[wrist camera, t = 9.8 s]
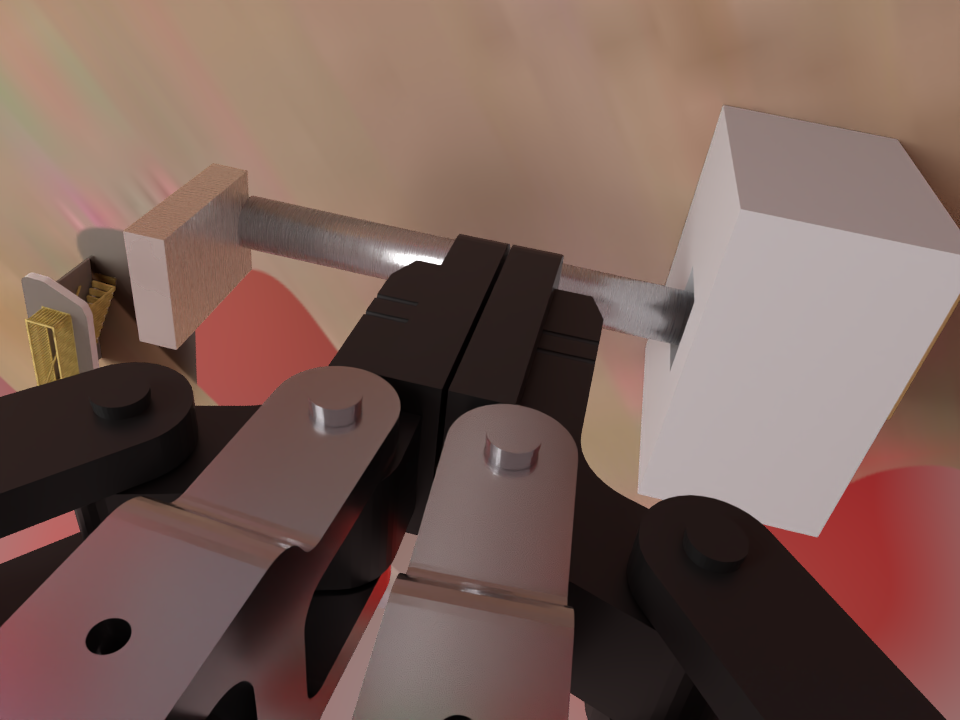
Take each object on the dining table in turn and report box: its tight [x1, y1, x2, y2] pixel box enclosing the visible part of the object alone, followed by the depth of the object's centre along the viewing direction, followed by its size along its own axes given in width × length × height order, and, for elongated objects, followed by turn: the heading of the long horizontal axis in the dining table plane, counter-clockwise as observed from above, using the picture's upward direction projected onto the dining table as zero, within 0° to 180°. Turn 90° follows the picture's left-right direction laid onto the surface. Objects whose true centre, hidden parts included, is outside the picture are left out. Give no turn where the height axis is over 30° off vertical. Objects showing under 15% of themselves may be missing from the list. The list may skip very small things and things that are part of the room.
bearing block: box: [638, 105, 960, 537], centre depth 35 cm, size 8×14×12 cm, turn 172°
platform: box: [22, 227, 197, 386], centre depth 49 cm, size 12×18×7 cm, turn 168°
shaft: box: [123, 163, 694, 350], centre depth 33 cm, size 26×5×8 cm, turn 82°
